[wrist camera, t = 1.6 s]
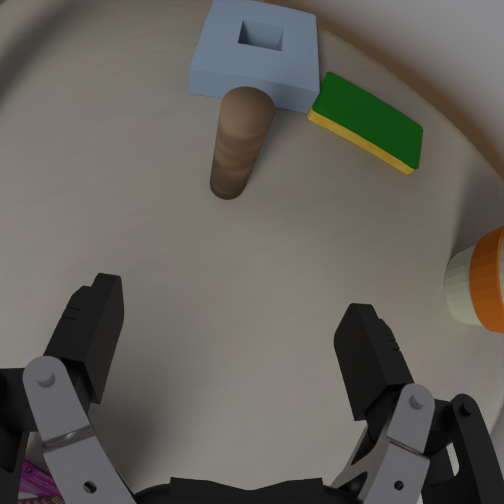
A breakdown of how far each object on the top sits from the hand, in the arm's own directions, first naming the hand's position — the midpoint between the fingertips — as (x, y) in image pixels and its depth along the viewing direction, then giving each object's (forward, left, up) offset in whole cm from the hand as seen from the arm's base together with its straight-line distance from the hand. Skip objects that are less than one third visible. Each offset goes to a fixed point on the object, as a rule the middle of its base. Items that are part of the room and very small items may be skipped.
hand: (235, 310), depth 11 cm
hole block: (+1, +29, -16) cm, 33 cm away
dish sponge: (+15, +22, -17) cm, 32 cm away
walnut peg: (0, +12, -16) cm, 20 cm away
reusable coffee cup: (+30, +5, -16) cm, 34 cm away
